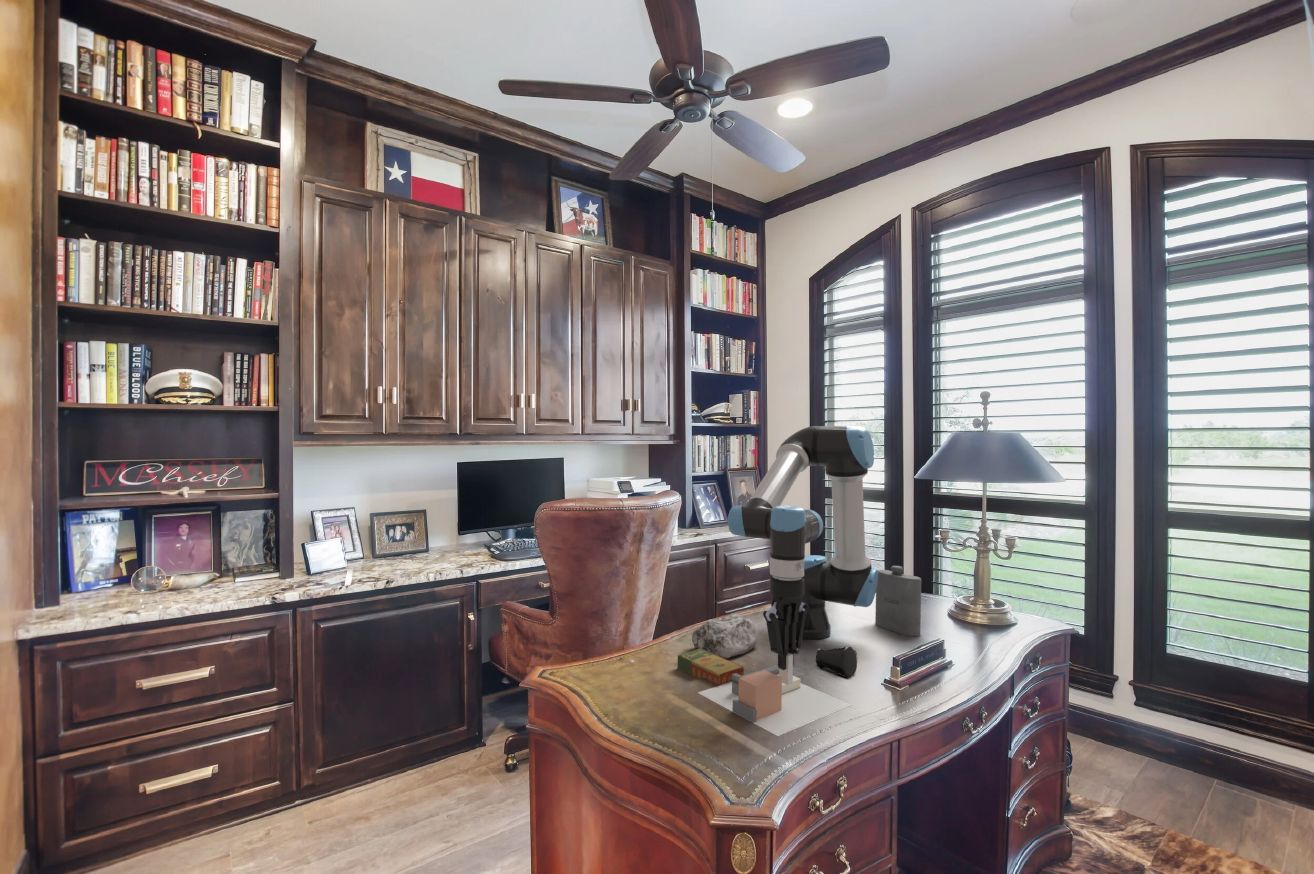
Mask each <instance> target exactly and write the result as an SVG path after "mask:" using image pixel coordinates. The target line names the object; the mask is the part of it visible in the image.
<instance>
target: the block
mask: <svg viewBox="0 0 1314 874" xmlns="http://www.w3.org/2000/svg"><path fill="white" fill-rule="evenodd" d="M738 700H739V701H741V702H743V703H745V704H746V705H748V706H750V707H752V708H754V709H756V710H757V719H760V718H763V717H765V716H768V715H770V714H773V713H776V712H778V711H781V704H782V677H780V676H777V675H775V674H773V673H770V672H768V671H766V670H763V671H760V672H757V673H754V674H750V675H747V676H744V677H741V678H739V689H738Z"/></svg>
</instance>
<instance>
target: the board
mask: <svg viewBox="0 0 1314 874" xmlns="http://www.w3.org/2000/svg"><path fill="white" fill-rule="evenodd" d="M763 670H766V671H768V672H770V673H773V674H775V675H777V676H779V668H778V663H777V664H775V665H772V666H768V667H765V668H761V669H759V670H755V671H752V672H749V673H746V674H745V673H744V675H742V676H741V675H739V674H737V673H735V674H732V682H728V683H725V684H722V685H718V686H714V687H710V688H707V689H704V690H701V691H698V692H697V694H699V695H701V696H703V697H704V698H706V699H708V700H710V701H711V702H713V703H715V704H717V705H718V706H721V707H723V708H725V709H727V711H730V712H732V713H734V714H736V715H737V716H739V717H741V718H743V719H744V720H746V721H749V722H750V723H752V724H754V725H756V726H757V727H760V728H761V729H764V730H765V731H767V732H769V733H771V734H773V735H774V736H776V737H780V736H782V735H784V734H787V733H789V732H792V731H794V730H798V729H799V728H802V727H804V726H806V725H808V724H810V723H813V722H815V721H817V720H821V719H822V718H825V717H827V716H830V715H832V714H834V713H836V712H838V711H839V712H840V711H841V710H844V709H846V708H848V707H851V706H852V704H850V703H848V702H846V701H844V700H841V699H839V698H836V697H834V696H832V695H829V694H827V693H825V692H823V691H820V690H818V689H816V688H813V687H811V686H809V685H806V684H804V683H802V682H801V681H802V679H801V678H799V677H797V676H795V675H793V684H790V685H786V684H784V683H782V704H781V711H778V712H776V713H773V714H770V715H768V716H765V717H763V718H760V719H757V710H756V709H754V708H752V707H750V706H748V705H746V704H745V703H743V702H741V701H739V700H738V689H739V678H741V677H744V676H747V675H750V674H754V673H757V672H760V671H763Z"/></svg>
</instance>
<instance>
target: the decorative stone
mask: <svg viewBox="0 0 1314 874" xmlns="http://www.w3.org/2000/svg"><path fill="white" fill-rule="evenodd" d="M758 635H759V634H758V630H757V627H756V625H755V622H754V621H752V620H751V619H750V618H748V617H744V616H743V615H741V614H739V613H731V614H729V615H726V616H723V617H720V618H719V617H716V618H712V619H707V621H706V622H705V623H704V624H702V625H700V626H699V627H697V628H696V629H695V630H693V632H692V634H691V641H692V644H693V646H694V648H695V649H703V650H706V651H708V652H710V653H712V654H715V655H717V656H719V657H722V658H724V659H730V658H732V657H736V656H739V655H743V654H746V653H748V652H749V651H751V650H752V649H753V648H754V647H755V646H756V645H757V644H758V641H759V639H758V638H759V637H758Z"/></svg>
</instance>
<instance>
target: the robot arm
mask: <svg viewBox="0 0 1314 874" xmlns="http://www.w3.org/2000/svg"><path fill="white" fill-rule="evenodd" d="M874 455H875V450H874V443H873V440H872V436H871V433H870V432H869V430H868V429H867V428H865V427H863V426H855V425H854V426H852V425H821V426H820V425H812V426H808V427H804V428H802V429H799V430H798V431H796V432H795V433H793V434H792V435H790V436H788V438H786V439H784V441H783V442H782V443H781V444H780V445H779V447H778V449H777V450H776V453H775V458H776V459H775V460H774V462H773V463H772V464H771V466H770V467H769V469H768V470H767V472H766V474H765V475H764V477H763V478H762V479H761V481H760V482H759V485H758V486H757V488H756V489H755V490H754V492H753V493H752V495H751V496H750V498H749V499H748V501H747V502H746V503H745V505H742V504H740V505H735V506H732V507H731V508H730V510H729V513H728V516H727V526H728V529H729V531H730V533H731V534H732V535H734V536H739V537H743V538H751V539H752V538H753V539H763V540H770V553H769V555H770V556H769V575H771V576H770V577H769V593H770V594H771V596H772V600H771V603H770V606H771V607H770V608H769V609H768V611H767V610H764V611H763V613H762V615H763V618H764V619H765V623H766V629H767V634H768V640H769V647H770V651H771V652H772V653H775V654H777V664H778V668H779V676H780V677H782V683H784V684H786V685H790V684H793V676H794V674H793V673H794V665H795V655H798V654H799V652H800V651H799V650H798V649H801V648H802V643H803V639H808V640H809V639H810V640H818V639H825V638H828V637H829V636H831V633H832V629H831V628H832V626H831V624H830V621H829V617H828V613H827V609H826V602H830V603H836V604H840V605H847V606H853V607H854V608H855V607H861V608H869V607H870V606H871V605H872V604H873V602H874V599H875V598H876V589H877V583H878V570H879V569H877V568H875V567H872V560H871V558H869V557H868V556H867V555H866V539H865V538H866V537H865V512H864V511H865V510H864V507H865V506H864V486H863V485H864V483H863V480H864V477H865V476H867V474H868V472H869V471H868V470H869V469H870V468H872V467H873V466H874V461H875V459H874V458H875V457H874ZM811 466H812V467H813V466H815V467H824V469H825V475H826V476H827V477H829V478H830V479H831V482H830V483H831V498H832V499H831V500H832V517H833V519H832V520H833V537H834V539H833V540H834V541H833V542H834V555H833V556H832V557H831V558H830V560H829V562H828V561H827V558H826V556H824V555H816V554H815V555H814V554H813V555H812V554H811V555H806V544H808V543H812V542H814V541H815V540H817V538H819V537H820V536H821V534H822V533H823V531H824V521H823V519H822V517H821V515H820V514H819V513H818V512H816V511H815V510H812V509H804V508H803V507H801V506H795V505H782V504H783V502H784V500H785V498H786V497H787V495H788V493H789V492H790V490H791V488H792V487H793V484H795V481H796V479H797V478H798V477H799V474H800V473H802V472H804V471H805V470H807V468H808V467H811Z"/></svg>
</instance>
